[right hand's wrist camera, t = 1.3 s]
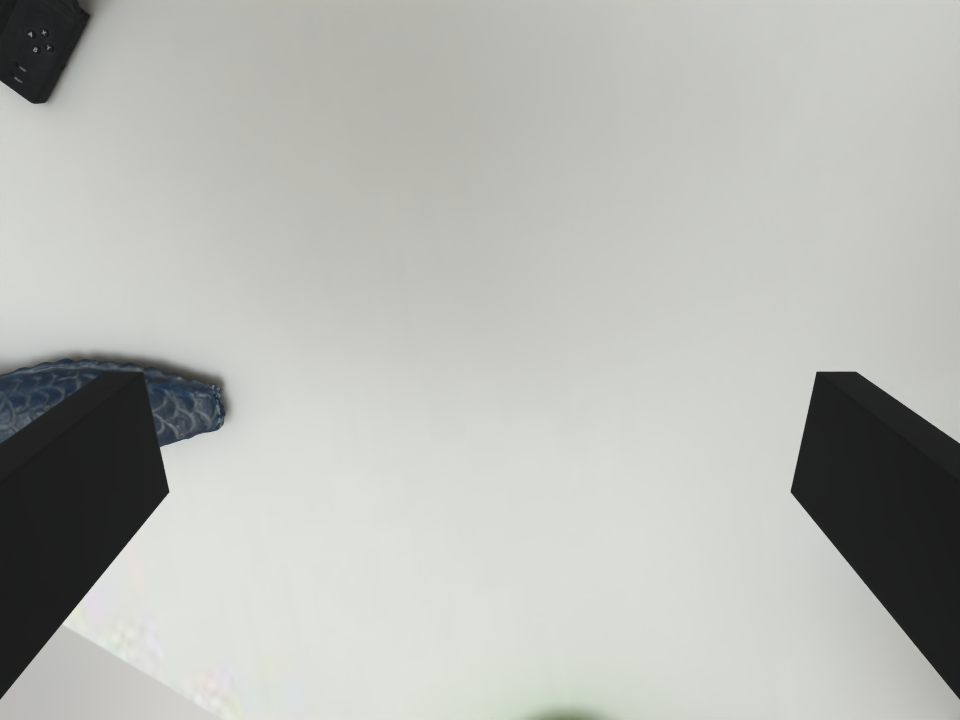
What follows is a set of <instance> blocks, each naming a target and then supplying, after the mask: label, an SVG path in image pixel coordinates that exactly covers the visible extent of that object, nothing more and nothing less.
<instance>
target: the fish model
mask: <svg viewBox="0 0 960 720" xmlns="http://www.w3.org/2000/svg"><path fill="white" fill-rule="evenodd" d="M103 372H143V373H144V377H145V382H146V387H147V391H148V396H149V400H150V405H151V410H152V414H153V419H154V423H155V428H156V433H157V437H158V442H159V446H160V447H162V446H164V445H168V444H171V443H174V442H177V441H180V440H183V439H189V438H192V437H193V436H195V435H198V434H201V433H206V432H212V431H216V430H218V429H220V428H221V427H222V425H223V423H224V416H225V411H224V407H223V404H222V402H221V400H220V397H221V395H220V392H221V388H220V387H216V385H213V384H210V383H205V384H204V383H201V382H200V381H199V380H188V379H185V378H183V377H181V376H179V375H177V374H166V373H165V372H163V371H160V370H158V369H156V368H153V367H147V368H143V367H141V366H139V365H136V364H132V363H127V364H117V363H115V362H111V361H109V362H101V363H100V362H98V361H95V360H85V359H84V360H81V361H79V362H75V361H72V360H70V359H63V360H61V361H58V362H55V363H51V362H45V363H41V364H39V365H37V366H35V367H33V368H27V367H25V368H20V369H18V370H16V371H14V372H12V373H8V374H4V375H0V443H2V442H3V441H5V440H6V439H8V438H9V437H11V436H12V435H13V434H15V433H16V432H18V431H19V430H21V429H22V428H23V427H25V426H26V425H28V424H29V423H31V422H32V421H34V420H35V419H36V418H38V417H39V416H41V415H42V414H44V413H45V412H47V411H48V410H49V409H51V408H52V407H54V406H55V405H57V404H58V403H60V402H61V401H62V400H64V399H65V398H67V397H68V396H70V395H71V394H73V393H74V392H75V391H77V390H78V389H80V388H81V387H83V386H84V385H86V384H87V383H88V382H90V381H91V380H93V379H94V378H96V377H97V376H99V375H100V374H101V373H103Z"/></svg>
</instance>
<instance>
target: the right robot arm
mask: <svg viewBox="0 0 960 720" xmlns="http://www.w3.org/2000/svg"><path fill="white" fill-rule="evenodd" d="M168 493H169V488H168V483H167V479H166V474H165V469H164V465H163V460H162V456H161V451H160V446H159V442H158V437H157V433H156V428H155V423H154V419H153V414H152V410H151V405H150V400H149V396H148V391H147V387H146V382H145V377H144V373H143V372H103V373H101V374H100V375H99V376H97V377H96V378H94V379H93V380H91V381H90V382H88V383H87V384H86V385H84V386H83V387H81V388H80V389H78V390H77V391H75V392H74V393H73V394H71V395H70V396H68V397H67V398H65V399H64V400H62V401H61V402H60V403H58V404H57V405H55V406H54V407H52V408H51V409H49V410H48V411H47V412H45V413H44V414H42V415H41V416H39V417H38V418H36V419H35V420H34V421H32V422H31V423H29V424H28V425H26V426H25V427H23V428H22V429H21V430H19V431H18V432H16V433H15V434H13V435H12V436H11V437H9V438H8V439H6V440H5V441H3V442H2V443H0V699H1V698H2V697H3V695H4V694H5V693H6V692H7V691H8V689H9V688H10V687H11V686H12V684H13V683H14V682H15V681H16V679H17V678H18V677H19V676H20V675H21V673H22V672H23V671H24V670H25V668H26V667H27V666H28V665H29V664H30V662H31V661H32V660H33V659H34V657H35V656H36V655H37V654H38V653H39V651H40V650H41V649H42V648H43V646H44V645H45V644H46V643H47V641H48V640H49V639H50V638H51V637H52V635H53V634H54V633H55V632H56V630H57V629H58V628H59V627H60V626H61V624H62V623H63V622H64V621H65V619H66V618H67V617H68V616H69V615H70V613H71V612H72V611H73V610H74V608H75V607H76V606H77V605H78V603H79V602H80V601H81V600H82V599H83V597H84V596H85V595H86V594H87V592H88V591H89V590H90V589H91V588H92V586H93V585H94V584H95V583H96V581H97V580H98V579H99V578H100V576H101V575H102V574H103V573H104V572H105V570H106V569H107V568H108V567H109V565H110V564H111V563H112V562H113V561H114V559H115V558H116V557H117V556H118V554H119V553H120V552H121V551H122V550H123V548H124V547H125V546H126V545H127V543H128V542H129V541H130V540H131V538H132V537H133V536H134V535H135V534H136V532H137V531H138V530H139V529H140V527H141V526H142V525H143V524H144V523H145V521H146V520H147V519H148V518H149V516H150V515H151V514H152V513H153V511H154V510H155V509H156V508H157V507H158V505H159V504H160V503H161V502H162V500H163V499H164V498H165V497H166V496H167V494H168ZM791 493H792V494H793V496H794V497H795V498H796V499H797V500H798V502H799V503H800V504H801V505H802V507H803V508H804V509H805V510H806V511H807V513H808V514H809V515H810V516H811V518H812V519H813V520H814V521H815V523H816V524H817V525H818V526H819V527H820V529H821V530H822V531H823V532H824V534H825V535H826V536H827V537H828V538H829V540H830V541H831V542H832V543H833V545H834V546H835V547H836V548H837V550H838V551H839V552H840V553H841V554H842V556H843V557H844V558H845V559H846V561H847V562H848V563H849V564H850V565H851V567H852V568H853V569H854V570H855V572H856V573H857V574H858V575H859V576H860V578H861V579H862V580H863V581H864V583H865V584H866V585H867V586H868V588H869V589H870V590H871V591H872V592H873V594H874V595H875V596H876V597H877V599H878V600H879V601H880V602H881V603H882V605H883V606H884V607H885V608H886V610H887V611H888V612H889V613H890V615H891V616H892V617H893V618H894V619H895V621H896V622H897V623H898V624H899V626H900V627H901V628H902V629H903V630H904V632H905V633H906V634H907V635H908V637H909V638H910V639H911V640H912V641H913V643H914V644H915V645H916V646H917V648H918V649H919V650H920V651H921V653H922V654H923V655H924V656H925V657H926V659H927V660H928V661H929V662H930V664H931V665H932V666H933V667H934V668H935V670H936V671H937V672H938V673H939V675H940V676H941V677H942V678H943V680H944V681H945V682H946V683H947V684H948V686H949V687H950V688H951V689H952V691H953V692H954V693H955V694H956V695H957V697H958V698H959V699H960V443H958V442H957V441H955V440H954V439H952V438H951V437H949V436H948V435H947V434H945V433H944V432H942V431H941V430H939V429H938V428H937V427H935V426H934V425H932V424H931V423H929V422H928V421H926V420H925V419H924V418H922V417H921V416H919V415H918V414H916V413H915V412H913V411H912V410H911V409H909V408H908V407H906V406H905V405H903V404H902V403H900V402H899V401H898V400H896V399H895V398H893V397H892V396H890V395H889V394H887V393H886V392H885V391H883V390H882V389H880V388H879V387H877V386H876V385H874V384H873V383H872V382H870V381H869V380H867V379H866V378H864V377H863V376H861V375H860V374H859V373H857V372H817V373H816V377H815V382H814V387H813V391H812V396H811V400H810V405H809V410H808V414H807V419H806V423H805V428H804V433H803V437H802V442H801V446H800V451H799V456H798V460H797V465H796V469H795V474H794V479H793V483H792V488H791Z"/></svg>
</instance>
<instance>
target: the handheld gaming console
mask: <svg viewBox="0 0 960 720" xmlns="http://www.w3.org/2000/svg"><path fill="white" fill-rule="evenodd" d="M89 17H90V15H89V14H87V13H86V12H85V11H84V10H82V9H81V8H80V7H79V3H78V0H0V81H2V82H3V83H5V84H6V85H7V86H9V87H10V88H11V89H13V90H14V91H16V92H17V93H18V94H20V95H21V96H22V97H24V98H25V99H27V100H28V101H29V102H31V103H34V104H39V103H45V102H46V101H47V99H48V97H49V95H50V93H51V91H52V89H53V87H54V85H55V83H56V81H57V79H58V77H59V75H60V73H61V71H62V70H63V69H64V67H65V63H66V61H67V59H68V58H69V56H70V54H71V52H72V50H73V48H74V46H75V44H76V42H77V40H78V38H79V36H80V34H81V32H82V30H83V29H84V27H85V25H86V23H87V21H88V19H89Z"/></svg>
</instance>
